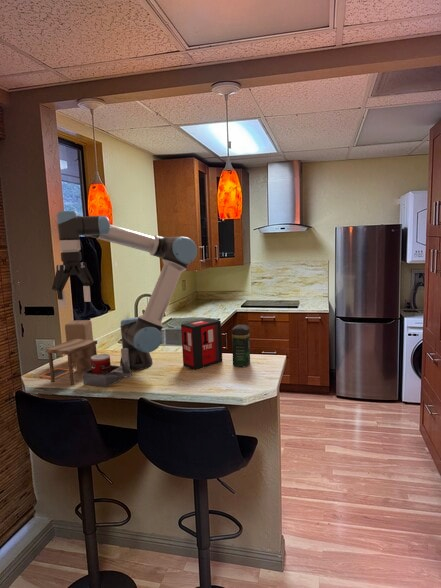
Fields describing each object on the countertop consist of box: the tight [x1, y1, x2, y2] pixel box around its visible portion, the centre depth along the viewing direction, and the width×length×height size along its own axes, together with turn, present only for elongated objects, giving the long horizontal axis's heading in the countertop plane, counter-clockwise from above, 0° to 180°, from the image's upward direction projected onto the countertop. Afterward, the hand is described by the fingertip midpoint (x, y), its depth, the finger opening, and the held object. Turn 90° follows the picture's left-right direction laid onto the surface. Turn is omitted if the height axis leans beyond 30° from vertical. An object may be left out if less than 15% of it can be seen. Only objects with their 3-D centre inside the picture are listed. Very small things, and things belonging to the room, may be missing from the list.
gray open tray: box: [81, 348, 133, 388], centre depth 168 cm, size 20×12×15 cm, turn 67°
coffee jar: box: [231, 324, 251, 369], centre depth 183 cm, size 10×8×19 cm
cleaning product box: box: [180, 317, 223, 371], centre depth 186 cm, size 16×9×20 cm, turn 131°
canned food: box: [91, 353, 112, 375], centre depth 170 cm, size 8×8×11 cm
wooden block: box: [64, 319, 94, 364], centre depth 199 cm, size 10×10×20 cm
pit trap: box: [38, 367, 75, 381], centre depth 182 cm, size 10×11×1 cm
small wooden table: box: [45, 339, 98, 386], centre depth 176 cm, size 13×17×15 cm
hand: (75, 304), depth 159 cm, fingers open, 13 cm apart
